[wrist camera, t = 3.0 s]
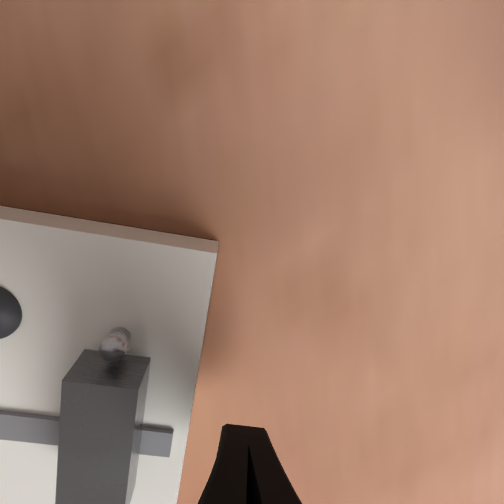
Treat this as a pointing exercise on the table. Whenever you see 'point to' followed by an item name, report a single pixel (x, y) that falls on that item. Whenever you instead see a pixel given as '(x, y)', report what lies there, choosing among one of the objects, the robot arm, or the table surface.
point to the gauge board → (96, 338)
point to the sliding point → (101, 423)
